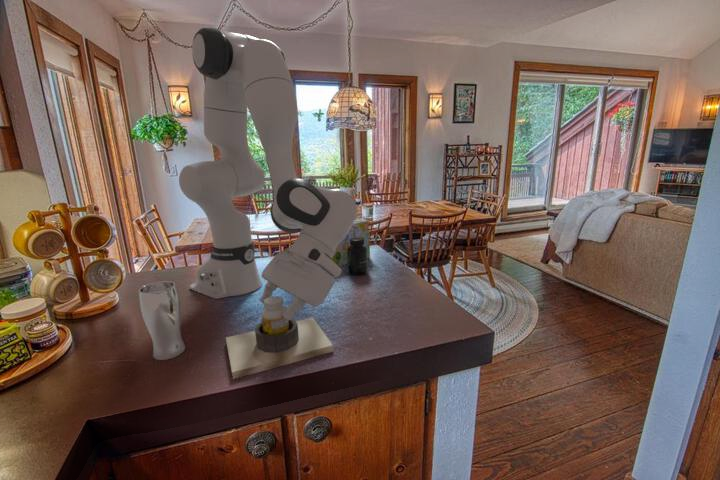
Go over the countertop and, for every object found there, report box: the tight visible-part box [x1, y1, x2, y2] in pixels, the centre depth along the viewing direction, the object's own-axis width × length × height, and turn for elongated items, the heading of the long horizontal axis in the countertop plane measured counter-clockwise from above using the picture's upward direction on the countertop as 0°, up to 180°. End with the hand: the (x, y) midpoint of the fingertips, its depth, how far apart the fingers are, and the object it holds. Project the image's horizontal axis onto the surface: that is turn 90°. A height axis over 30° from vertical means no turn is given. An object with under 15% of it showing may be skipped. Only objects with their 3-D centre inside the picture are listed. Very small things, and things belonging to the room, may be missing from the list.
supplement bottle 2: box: [347, 237, 368, 276], centre depth 118 cm, size 7×7×12 cm
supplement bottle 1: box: [261, 295, 289, 335], centre depth 73 cm, size 5×5×10 cm
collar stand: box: [225, 317, 334, 380], centre depth 74 cm, size 20×14×5 cm
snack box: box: [332, 218, 371, 268], centre depth 128 cm, size 21×6×15 cm, turn 130°
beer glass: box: [138, 280, 186, 361], centre depth 72 cm, size 7×7×15 cm
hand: (273, 310), depth 72 cm, fingers open, 8 cm apart
